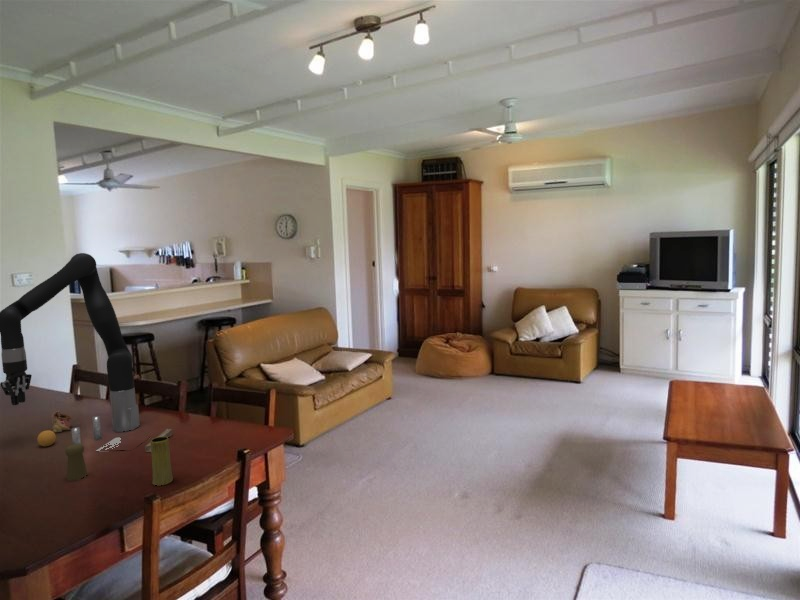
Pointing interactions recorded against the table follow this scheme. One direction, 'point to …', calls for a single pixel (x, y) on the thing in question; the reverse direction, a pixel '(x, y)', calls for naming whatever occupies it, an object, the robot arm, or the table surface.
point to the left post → (76, 435)
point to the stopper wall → (165, 433)
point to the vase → (161, 461)
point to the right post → (97, 427)
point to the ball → (46, 438)
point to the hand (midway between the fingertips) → (18, 403)
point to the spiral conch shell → (61, 421)
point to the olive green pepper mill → (75, 462)
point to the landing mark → (112, 443)
